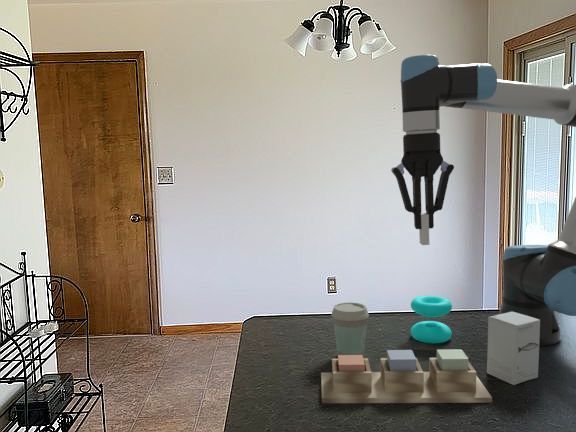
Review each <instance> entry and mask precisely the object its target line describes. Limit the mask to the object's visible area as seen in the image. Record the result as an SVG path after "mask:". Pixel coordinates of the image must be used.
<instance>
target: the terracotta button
mask: <svg viewBox="0 0 576 432" xmlns="http://www.w3.org/2000/svg"><path fill="white" fill-rule="evenodd" d="M363 358H364V354H363V355H338V354H337V359H338V372H355V371H365V364H364V360H363Z"/></svg>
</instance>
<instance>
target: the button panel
mask: <svg viewBox="0 0 576 432" xmlns="http://www.w3.org/2000/svg"><path fill="white" fill-rule="evenodd" d="M415 358H416V371H388V368H387V357H380V359H379V360H380V362H379V363H380V371H372V370H371V366H370V363H369V362H370V361H369V358H368V357H367V358H364V357H363V360H364V364H365V371H355V372H338V358H331V368H332V369H331V372H330V371H329V372H320V377H321V378H320V379H321V381H320V383H321V384H320V387H321V404H423V403H424V404H432V403H433V404H440V403H441V404H444V403H445V404H449V403H450V404H451V403H452V404H455V403H456V404H457V403H463V404H464V403H466V404H469V403H471V404H473V403H474V404H475V403H477V404H478V403H484V404H485V403H487V404H489V403H493V396H492V395H491V394H490V393H489V391H488V390H487V388H486V387H485V385H484V384H483V383H482V381H481V380H480V378H479V377H478V374H477V371H476V370H475V368H474V367H473V366H472V364H471V363H470V362H469V360H468V371H440V369H439V367H438V365H437V357H429V358H428V362H429V363H428V364H429V365H428V369H429V370H428V371H423V368H422V366H421V364H420V362H419V360H418V357H415Z"/></svg>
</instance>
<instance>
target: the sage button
mask: <svg viewBox="0 0 576 432" xmlns="http://www.w3.org/2000/svg"><path fill="white" fill-rule="evenodd" d="M436 358H437V365H438V367H439V369H440V371H468V361H469V359H470V358H469V357H468V356H467V355H466V353H465V352H464V350H462V349H460V348H459V349H453V348H451V349H449V348H448V349H447V348H446V349H436Z"/></svg>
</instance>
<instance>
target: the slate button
mask: <svg viewBox="0 0 576 432" xmlns="http://www.w3.org/2000/svg"><path fill="white" fill-rule="evenodd" d="M386 358H387V368H388V371H416V358H417V357H416V356H415V354H414V351H413V350H412V349H386Z"/></svg>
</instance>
